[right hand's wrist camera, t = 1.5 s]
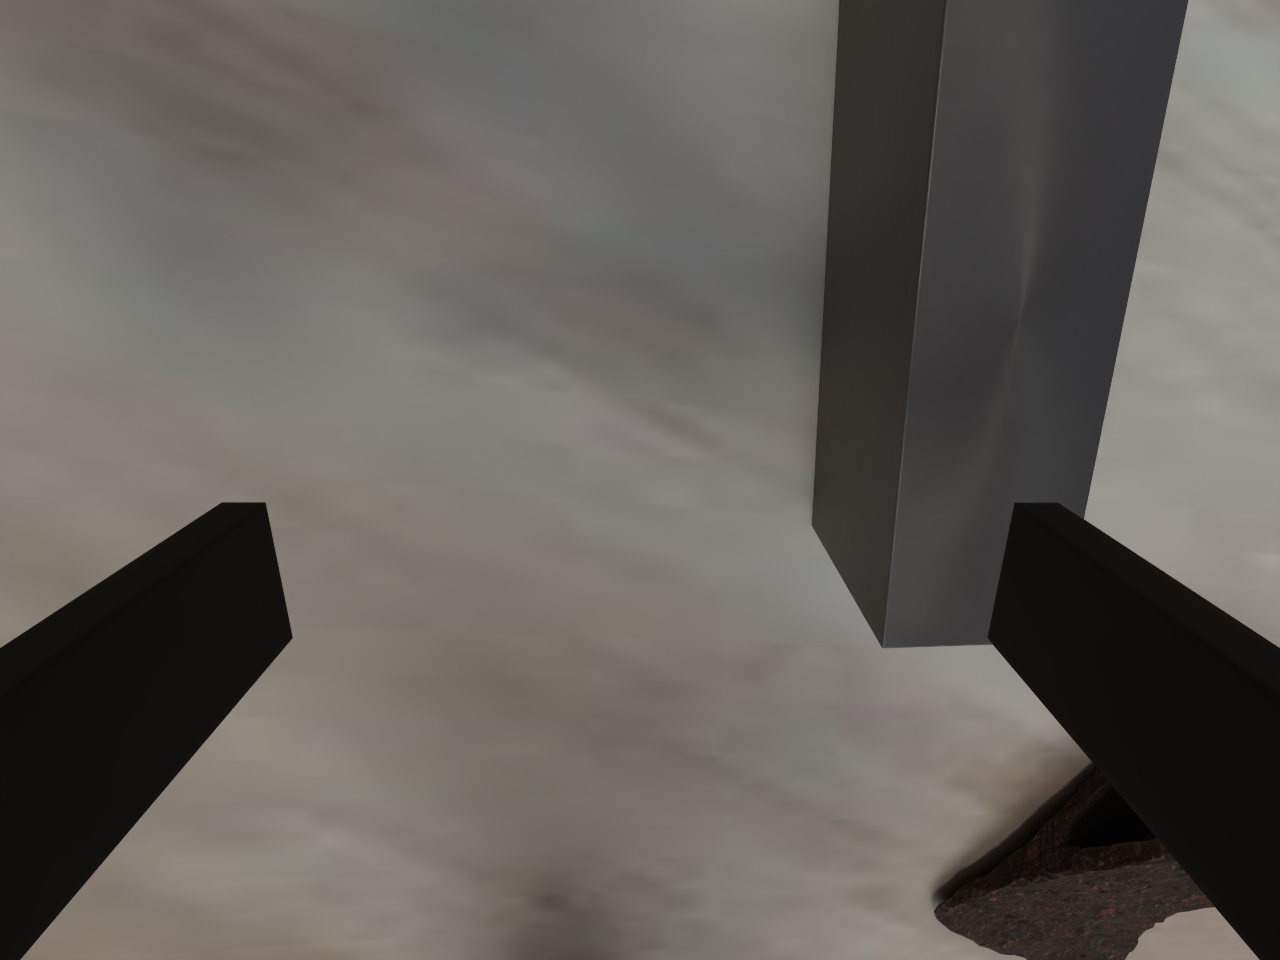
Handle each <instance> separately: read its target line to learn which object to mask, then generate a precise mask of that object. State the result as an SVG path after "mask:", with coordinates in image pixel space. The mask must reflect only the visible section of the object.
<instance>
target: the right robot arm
mask: <svg viewBox="0 0 1280 960" xmlns="http://www.w3.org/2000/svg"><path fill="white" fill-rule="evenodd" d="M292 638H293V637H292V632H291V627H290V622H289V617H288V612H287V607H286V602H285V597H284V592H283V587H282V582H281V577H280V572H279V567H278V562H277V557H276V552H275V547H274V542H273V537H272V532H271V527H270V522H269V517H268V512H267V507H266V503H220V504H219V505H217V506H216V507H214V508H213V509H211V510H210V511H208V512H207V513H205V514H204V515H202V516H201V517H199V518H198V519H196V520H194V521H193V522H191V523H190V524H188V525H187V526H185V527H184V528H182V529H181V530H179V531H178V532H176V533H175V534H173V535H172V536H170V537H169V538H167V539H166V540H164V541H163V542H161V543H159V544H158V545H156V546H155V547H153V548H152V549H150V550H149V551H147V552H146V553H144V554H143V555H141V556H140V557H138V558H137V559H135V560H134V561H132V562H131V563H129V564H128V565H126V566H124V567H123V568H121V569H120V570H118V571H117V572H115V573H114V574H112V575H111V576H109V577H108V578H106V579H105V580H103V581H102V582H100V583H99V584H97V585H96V586H94V587H93V588H91V589H89V590H88V591H86V592H85V593H83V594H82V595H80V596H79V597H77V598H76V599H74V600H73V601H71V602H70V603H68V604H67V605H65V606H64V607H62V608H61V609H59V610H58V611H56V612H54V613H53V614H51V615H50V616H48V617H47V618H45V619H44V620H42V621H41V622H39V623H38V624H36V625H35V626H33V627H32V628H30V629H29V630H27V631H26V632H24V633H23V634H21V635H19V636H18V637H16V638H15V639H13V640H12V641H10V642H9V643H7V644H6V645H4V646H3V647H1V648H0V960H20V959H21V958H22V957H23V956H24V955H25V954H26V952H27V951H28V950H29V949H30V948H31V946H32V945H33V944H34V943H35V942H36V941H37V939H38V938H39V937H40V936H41V935H42V933H43V932H44V931H45V930H46V929H47V928H48V926H49V925H50V924H51V923H52V922H53V920H54V919H55V918H56V917H57V916H58V915H59V913H60V912H61V911H62V910H63V909H64V907H65V906H66V905H67V904H68V903H69V902H70V900H71V899H72V898H73V897H74V896H75V894H76V893H77V892H78V891H79V890H80V889H81V887H82V886H83V885H84V884H85V883H86V881H87V880H88V879H89V878H90V877H91V876H92V874H93V873H94V872H95V871H96V870H97V868H98V867H99V866H100V865H101V864H102V863H103V861H104V860H105V859H106V858H107V857H108V855H109V854H110V853H111V852H112V851H113V850H114V848H115V847H116V846H117V845H118V844H119V842H120V841H121V840H122V839H123V838H124V837H125V835H126V834H127V833H128V832H129V831H130V829H131V828H132V827H133V826H134V825H135V824H136V822H137V821H138V820H139V819H140V818H141V817H142V815H143V814H144V813H145V812H146V811H147V809H148V808H149V807H150V806H151V805H152V804H153V802H154V801H155V800H156V799H157V798H158V796H159V795H160V794H161V793H162V792H163V791H164V789H165V788H166V787H167V786H168V785H169V783H170V782H171V781H172V780H173V779H174V778H175V776H176V775H177V774H178V773H179V772H180V770H181V769H182V768H183V767H184V766H185V765H186V763H187V762H188V761H189V760H190V759H191V757H192V756H193V755H194V754H195V753H196V752H197V750H198V749H199V748H200V747H201V746H202V744H203V743H204V742H205V741H206V740H207V739H208V737H209V736H210V735H211V734H212V733H213V731H214V730H215V729H216V728H217V727H218V726H219V724H220V723H221V722H222V721H223V720H224V718H225V717H226V716H227V715H228V714H229V713H230V711H231V710H232V709H233V708H234V707H235V705H236V704H237V703H238V702H239V701H240V700H241V698H242V697H243V696H244V695H245V694H246V692H247V691H248V690H249V689H250V688H251V687H252V685H253V684H254V683H255V682H256V681H257V679H258V678H259V677H260V676H261V675H262V674H263V672H264V671H265V670H266V669H267V668H268V667H269V665H270V664H271V663H272V662H273V661H274V659H275V658H276V657H277V656H278V655H279V654H280V652H281V651H282V650H283V649H284V648H285V646H286V645H287V644H288V643H289V642H290V641H291V639H292ZM987 638H988V639H989V641H990V642H991V643H992V644H993V645H994V646H995V648H996V649H997V650H998V651H999V652H1000V654H1001V655H1002V656H1003V657H1004V658H1005V659H1006V661H1007V662H1008V663H1009V664H1010V665H1011V667H1012V668H1013V669H1014V670H1015V671H1016V672H1017V674H1018V675H1019V676H1020V677H1021V678H1022V679H1023V681H1024V682H1025V683H1026V684H1027V685H1028V687H1029V688H1030V689H1031V690H1032V691H1033V692H1034V694H1035V695H1036V696H1037V697H1038V698H1039V700H1040V701H1041V702H1042V703H1043V704H1044V705H1045V707H1046V708H1047V709H1048V710H1049V711H1050V713H1051V714H1052V715H1053V716H1054V717H1055V718H1056V720H1057V721H1058V722H1059V723H1060V724H1061V726H1062V727H1063V728H1064V729H1065V730H1066V731H1067V733H1068V734H1069V735H1070V736H1071V737H1072V739H1073V740H1074V741H1075V742H1076V743H1077V744H1078V746H1079V747H1080V748H1081V749H1082V750H1083V752H1084V753H1085V754H1086V755H1087V756H1088V757H1089V759H1090V760H1091V761H1092V762H1093V763H1094V765H1095V766H1096V767H1097V768H1098V769H1099V770H1100V772H1101V773H1102V774H1103V775H1104V776H1105V778H1106V779H1107V780H1108V781H1109V782H1110V783H1111V785H1112V786H1113V787H1114V788H1115V789H1116V791H1117V792H1118V793H1119V794H1120V795H1121V796H1122V798H1123V799H1124V800H1125V801H1126V802H1127V804H1128V805H1129V806H1130V807H1131V808H1132V809H1133V811H1134V812H1135V813H1136V814H1137V815H1138V816H1139V818H1140V819H1141V820H1142V821H1143V822H1144V824H1145V825H1146V826H1147V827H1148V828H1149V829H1150V831H1151V832H1152V833H1153V834H1154V835H1155V837H1156V838H1157V839H1158V840H1159V841H1160V842H1161V844H1162V845H1163V846H1164V847H1165V848H1166V850H1167V851H1168V852H1169V853H1170V854H1171V855H1172V857H1173V858H1174V859H1175V860H1176V861H1177V863H1178V864H1179V865H1180V866H1181V867H1182V868H1183V870H1184V871H1185V872H1186V873H1187V874H1188V876H1189V877H1190V878H1191V879H1192V880H1193V881H1194V883H1195V884H1196V885H1197V886H1198V887H1199V889H1200V890H1201V891H1202V892H1203V893H1204V894H1205V896H1206V897H1207V898H1208V899H1209V900H1210V902H1211V903H1212V904H1213V905H1214V906H1215V907H1216V909H1217V910H1218V911H1219V912H1220V913H1221V915H1222V916H1223V917H1224V918H1225V919H1226V920H1227V922H1228V923H1229V924H1230V925H1231V926H1232V928H1233V929H1234V930H1235V931H1236V932H1237V933H1238V935H1239V936H1240V937H1241V938H1242V939H1243V941H1244V942H1245V943H1246V944H1247V945H1248V946H1249V948H1250V949H1251V950H1252V951H1253V952H1254V954H1255V955H1256V956H1257V957H1258V958H1259V959H1260V960H1280V648H1279V647H1277V646H1276V645H1274V644H1273V643H1271V642H1270V641H1268V640H1267V639H1265V638H1264V637H1262V636H1261V635H1259V634H1257V633H1256V632H1254V631H1253V630H1251V629H1250V628H1248V627H1247V626H1245V625H1244V624H1242V623H1241V622H1239V621H1238V620H1236V619H1235V618H1233V617H1232V616H1230V615H1229V614H1227V613H1226V612H1224V611H1222V610H1221V609H1219V608H1218V607H1216V606H1215V605H1213V604H1212V603H1210V602H1209V601H1207V600H1206V599H1204V598H1203V597H1201V596H1200V595H1198V594H1197V593H1195V592H1194V591H1192V590H1191V589H1189V588H1187V587H1186V586H1184V585H1183V584H1181V583H1180V582H1178V581H1177V580H1175V579H1174V578H1172V577H1171V576H1169V575H1168V574H1166V573H1165V572H1163V571H1162V570H1160V569H1159V568H1157V567H1156V566H1154V565H1152V564H1151V563H1149V562H1148V561H1146V560H1145V559H1143V558H1142V557H1140V556H1139V555H1137V554H1136V553H1134V552H1133V551H1131V550H1130V549H1128V548H1127V547H1125V546H1124V545H1122V544H1121V543H1119V542H1117V541H1116V540H1114V539H1113V538H1111V537H1110V536H1108V535H1107V534H1105V533H1104V532H1102V531H1101V530H1099V529H1098V528H1096V527H1095V526H1093V525H1092V524H1090V523H1089V522H1087V521H1086V520H1084V519H1082V518H1081V517H1079V516H1078V515H1076V514H1075V513H1073V512H1072V511H1070V510H1069V509H1067V508H1066V507H1064V506H1063V505H1061V504H1060V503H1014V507H1013V512H1012V517H1011V522H1010V527H1009V532H1008V537H1007V542H1006V547H1005V552H1004V557H1003V562H1002V567H1001V572H1000V577H999V582H998V587H997V592H996V597H995V602H994V607H993V612H992V617H991V622H990V627H989V632H988V637H987Z"/></svg>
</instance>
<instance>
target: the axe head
mask: <svg viewBox="0 0 1280 960" xmlns="http://www.w3.org/2000/svg"><path fill="white" fill-rule="evenodd" d="M1210 907H1215V906H1214V905H1213V904H1212V903H1211V902H1210V900H1209V899H1208V898H1207V897H1206V896H1205V894H1204V893H1203V892H1202V891H1201V890H1200V889H1199V887H1198V886H1197V885H1196V884H1195V883H1194V881H1193V880H1192V879H1191V878H1190V877H1189V876H1188V874H1187V873H1186V872H1185V871H1184V870H1183V868H1182V867H1181V866H1180V865H1179V864H1178V863H1177V861H1176V860H1175V859H1174V858H1173V857H1172V855H1171V854H1170V853H1169V852H1168V851H1167V850H1166V848H1165V847H1164V846H1163V845H1162V844H1161V842H1160V841H1159V840H1158V839H1157V838H1156V837H1155V835H1154V834H1153V833H1152V832H1151V831H1150V829H1149V828H1148V827H1147V826H1146V825H1145V824H1144V822H1143V821H1142V820H1141V819H1140V818H1139V816H1138V815H1137V814H1136V813H1135V812H1134V811H1133V809H1132V808H1131V807H1130V806H1129V805H1128V804H1127V802H1126V801H1125V800H1124V799H1123V798H1122V796H1121V795H1120V794H1119V793H1118V792H1117V791H1116V789H1115V788H1114V787H1113V786H1112V785H1111V783H1110V782H1109V781H1108V780H1107V779H1106V778H1105V776H1104V775H1103V774H1102V773H1101V772H1100V770H1099V769H1098V768H1097V769H1096V771H1095V772H1094V773H1093V775H1092V776H1091V777H1090V778H1089V779H1088V780H1087V781H1086V782H1085V783H1084V784H1083V785H1082V786H1081V787H1080V789H1079V790H1078V791H1077V792H1076V794H1075V795H1074V796H1073V797H1072V798H1071V799H1070V800H1069V801H1068V802H1067V803H1066V804H1065V806H1064V807H1063V808H1062V809H1061V810H1060V811H1059V812H1058V813H1057V814H1055V815H1054V816H1053V817H1052V818H1051V819H1050V820H1049V821H1047V822H1046V823H1045V824H1044V825H1043V826H1042V828H1041V829H1040V830H1039V831H1038V832H1037V833H1036V834H1035V836H1034V837H1033V838H1032V839H1031V840H1030V841H1029V842H1028V843H1027V844H1026V845H1025V846H1024V847H1022V848H1020V849H1019V850H1017V851H1016V852H1014V853H1013V854H1012V855H1010V856H1009V857H1007V858H1006V859H1005V860H1003V861H1002V862H1001V863H1000V864H999V865H998V866H997V867H995V868H994V869H993V870H992V871H991V872H990V873H989V874H988V875H984V876H981V877H977V878H974V879H972V880H971V881H969V882H968V883H966V884H965V885H964V886H962V887H961V888H959V889H958V890H957V891H956V892H955V894H954V895H953V897H952V898H950V899H949V900H947V901H945V902H944V903H942V904H940V905H938V907H937V908H936V909H935V911H934V913H935V916H936V919H937V920H938V921H940V922H941V923H942V924H943V925H944V926H945V927H947V928H948V929H949V930H950V931H952V932H954V933H957V934H959V935H962V936H964V937H966V938H968V939H971V940H973V941H974V942H975V943H976V944H978V945H979V946H982V947H986V948H989V949H991V950H994V951H996V952H997V953H999V954H1005V955H1017V956H1020V957H1024V958H1026V959H1027V960H1125V959H1126V957H1127V955H1128V954H1129V952H1131V951H1133V950H1134V949H1135V947H1136V946H1137V944H1138V938H1139V937H1140V936H1141V935H1142V934H1143V933H1144V931H1145V930H1148V929H1150V928H1153V927H1154V925H1155V923H1159V922H1164V920H1165V919H1166V918H1167V917H1169V916H1172V915H1174V914H1175V913H1178V912H1186V911H1192V910H1197V909H1202V908H1210Z"/></svg>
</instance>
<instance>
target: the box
mask: <svg viewBox="0 0 1280 960" xmlns="http://www.w3.org/2000/svg"><path fill="white" fill-rule="evenodd" d="M1187 4H1188V0H840V11H839V30H838V49H837V68H836V87H835V106H834V124H833V143H832V162H831V181H830V200H829V219H828V238H827V257H826V276H825V295H824V314H823V333H822V352H821V371H820V390H819V409H818V428H817V447H816V466H815V485H814V503H813V522H812V527H813V529H814V530H815V532H816V534H817V536H818V537H819V539H820V541H821V543H822V544H823V546H824V548H825V549H826V551H827V553H828V555H829V556H830V558H831V560H832V562H833V563H834V565H835V567H836V569H837V570H838V572H839V574H840V575H841V577H842V579H843V581H844V582H845V584H846V586H847V588H848V589H849V591H850V593H851V595H852V596H853V598H854V600H855V601H856V603H857V605H858V607H859V608H860V610H861V612H862V614H863V615H864V617H865V619H866V621H867V622H868V624H869V626H870V628H871V629H872V631H873V633H874V634H875V636H876V638H877V640H878V641H879V643H880V645H881V647H882V648H902V647H931V646H960V645H989V644H992V643H991V642H990V641H989V639H988V638H987V637H988V632H989V627H990V622H991V617H992V612H993V607H994V602H995V597H996V592H997V587H998V582H999V577H1000V572H1001V567H1002V562H1003V557H1004V552H1005V547H1006V542H1007V537H1008V532H1009V527H1010V522H1011V517H1012V512H1013V507H1014V503H1060V504H1061V505H1063V506H1064V507H1066V508H1067V509H1069V510H1070V511H1072V512H1073V513H1075V514H1076V515H1078V516H1079V517H1081V518H1082V519H1084V515H1085V510H1086V505H1087V500H1088V495H1089V490H1090V485H1091V480H1092V475H1093V470H1094V465H1095V460H1096V455H1097V450H1098V446H1099V441H1100V436H1101V431H1102V426H1103V421H1104V416H1105V411H1106V406H1107V401H1108V396H1109V391H1110V386H1111V381H1112V376H1113V371H1114V366H1115V361H1116V356H1117V351H1118V346H1119V341H1120V336H1121V331H1122V326H1123V321H1124V316H1125V312H1126V307H1127V302H1128V297H1129V292H1130V287H1131V282H1132V277H1133V272H1134V267H1135V262H1136V257H1137V252H1138V247H1139V242H1140V237H1141V232H1142V227H1143V222H1144V217H1145V212H1146V207H1147V202H1148V197H1149V192H1150V187H1151V183H1152V178H1153V173H1154V168H1155V163H1156V158H1157V153H1158V148H1159V143H1160V138H1161V133H1162V128H1163V123H1164V118H1165V113H1166V108H1167V103H1168V98H1169V93H1170V88H1171V83H1172V78H1173V73H1174V68H1175V63H1176V58H1177V54H1178V49H1179V44H1180V39H1181V34H1182V29H1183V24H1184V19H1185V14H1186V9H1187Z"/></svg>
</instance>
